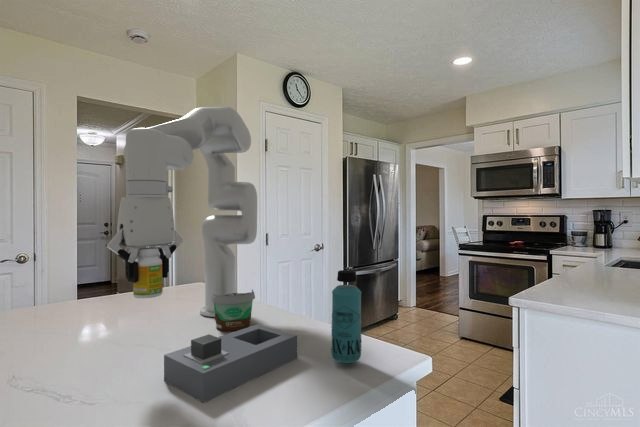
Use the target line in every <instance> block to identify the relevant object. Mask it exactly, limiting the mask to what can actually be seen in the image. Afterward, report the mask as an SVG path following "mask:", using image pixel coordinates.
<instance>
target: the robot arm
mask: <svg viewBox="0 0 640 427" xmlns="http://www.w3.org/2000/svg"><path fill="white" fill-rule="evenodd" d="M251 145H252V136H251V133H250V130H249V128H248V126H247V124H246V123H245V120H243V118H242V117H241V115H240V113H239V112H238V111H237V110H235V108H233V107H231V106H204V107H203V106H201V107H197V108H194V109H193V110H191V111H190V112H188V113H187V114H186V115H184V116H182V117H181V118H179V119H175V120H172V121H168V122H164V123H162V124H158V125H154V126H150V127H146V128H145V127H137V128H131V129H128V130H127V132H126V134H125V145H124V148H123V157H124V159H125V160H124V161H125V185H126V186H125V190H126V192H125V194H126V195H125V197H124V196H122V197H121V198H120V199H121V200H120V203H119V207H118V208H119V209H118V215H117V223H116V224H117V225H116V233H115V235H114V236H113V237H112V238H111V239H110V240H109V242H108V243H107V244H106V248H108V249H109V250H110V251H112V252H113V253H115V254H116V255H117V256H118V257H119V258H120V259H122V261H123V262H125V264H124V266H125V271H124V272H125V278H126V279H127V281H128V282H130V283H136V282H138V263H137V262H135V260H136V259H137V252H138V249H139V248H147V247H156V248H158V258H160V259H161V260H162V279H166V278H168V276H169V275H168V274H169V272H170V262H169V261H170V260H169V259H171V258H172V255H173V253H174V252H175V251H176V250H177V248H178V247H179V246H181V244H182V243H183V241H184V240H183V238H182V237H181V236H180V234H178V232H177V231H176V230H175V217H174V211H173V210H174V209H173V206H172V201H171V198H170V197H168V195H169V193H173V190H174V189H173V186H169V185H168V171H181V170H184V169H187V168H188V167H189V166H191V164H192V162H193V160H194V151H195V150H198V149H199V150H200V153H201V155H202V156H203V158H204V160H205V162H206V165H207V169H208V170H207V171H208V173H207V175H208V178H207V203H208V207H209V208H210V209H211V210H213V211H219V212H240V213H241V214H215V215H210V216H208V217H206V218H204V220H203V221H202V224H201V236H202V241H203V246H204V294H205V295H204V296H205V298H204V304H205V305H204V306H203V307H201V308H200V309H199V313H200V315H202V316H203V317H204V316H205V317H211V318H212V317H214V318H215V310H214V302H212V301H211V299H212V296H213V294H215V295H221V296H223V295H228V294H232V293H236V257H235V254H234V252H233V250H232V249H231V248H230V246H229V245H250V244H253V243H254V242H255V240H256V239H257V234H258V193H257V189H256V186H255V185H254V184H253V183H251V182H249V181H236V170H235V165H234V163H233V162H232V161H231V159H230V158H229V157H228V156H227V155H226V154H242V153H246V152H247V151H249V150H250V149H251ZM121 246H122V247H121ZM123 247H125V249H123Z"/></svg>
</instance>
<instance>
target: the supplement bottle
mask: <svg viewBox="0 0 640 427" xmlns="http://www.w3.org/2000/svg"><path fill="white" fill-rule="evenodd" d="M136 257H137V258H135V262H137V263H138V282H136V283H133V282H132V283H133V284H132V285H133V289H132V291H133V297H134V298H136V299H151V298H156V297H159V296H162V294H163V292H164V291H163V290H164V289H163V287H164V286H163V277H162V260H161V259H160V258H159V253H158V248H157V247H156V246H147V247H139V249H138V252H137V255H136Z"/></svg>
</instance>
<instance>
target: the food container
mask: <svg viewBox="0 0 640 427" xmlns="http://www.w3.org/2000/svg"><path fill="white" fill-rule="evenodd" d="M255 298H256V296H255V291H254V289H252V290H251V292H243V293H241V292H240V293H239V292H235V293H232V294H228V295H223V296H221V295H215V294H213V296H212V299H211V301H212V302H214V310H215V317H214V318H215V326H216V330H217V331H219V332H224V333H232V332H235V331H238V330H241V329H245V328H248V327H251V321H252V320H251V319H252V309H253V301H254V300H255Z"/></svg>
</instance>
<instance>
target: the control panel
mask: <svg viewBox="0 0 640 427" xmlns="http://www.w3.org/2000/svg"><path fill="white" fill-rule="evenodd" d="M297 358H298V334H295V333H291V332H287V331H285V330H279V329H277V328H273V327H270V326H265V325H263V324H260V323H259V324H258V323H257V324H255V325H250V327H248V328H245V329H241V330H238V331H235V332H228V333H227V334H224V335H221V336H215V335H212V334H206V335H203V336H200V337H197V338H193V339H190V346H187V347H184V348H181V349H178V350H175V351H171V352H168V353H165V354H163V366H164V367H163V381H164V382H166V383H167V384H169V385H171V386H172V387H175V388H176V389H178V390H180V391H181V392H184V393H185V394H187V395H188V396H190V397H192V398H195V399H196V400H197V401H199V402H202V403H203V404H204V403H205V402H208V401H210V400H212V399H214V398H216V397H218V396H220V395H222V394H224V393H227V392H228V391H231V390H233V389H235V388H237V387H239V386H241V385H244V384H245V382H246V383H247V381H248V382H249V380H250V381H252V380H254V379H256V378H259V377H261V376H262V375H264V374H266V373H268V372H270V371H273V370H274V369H277V368H278V367H281V366H283V365H285V364H287V363H289V362H291V361H293V360H295V359H297Z"/></svg>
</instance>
